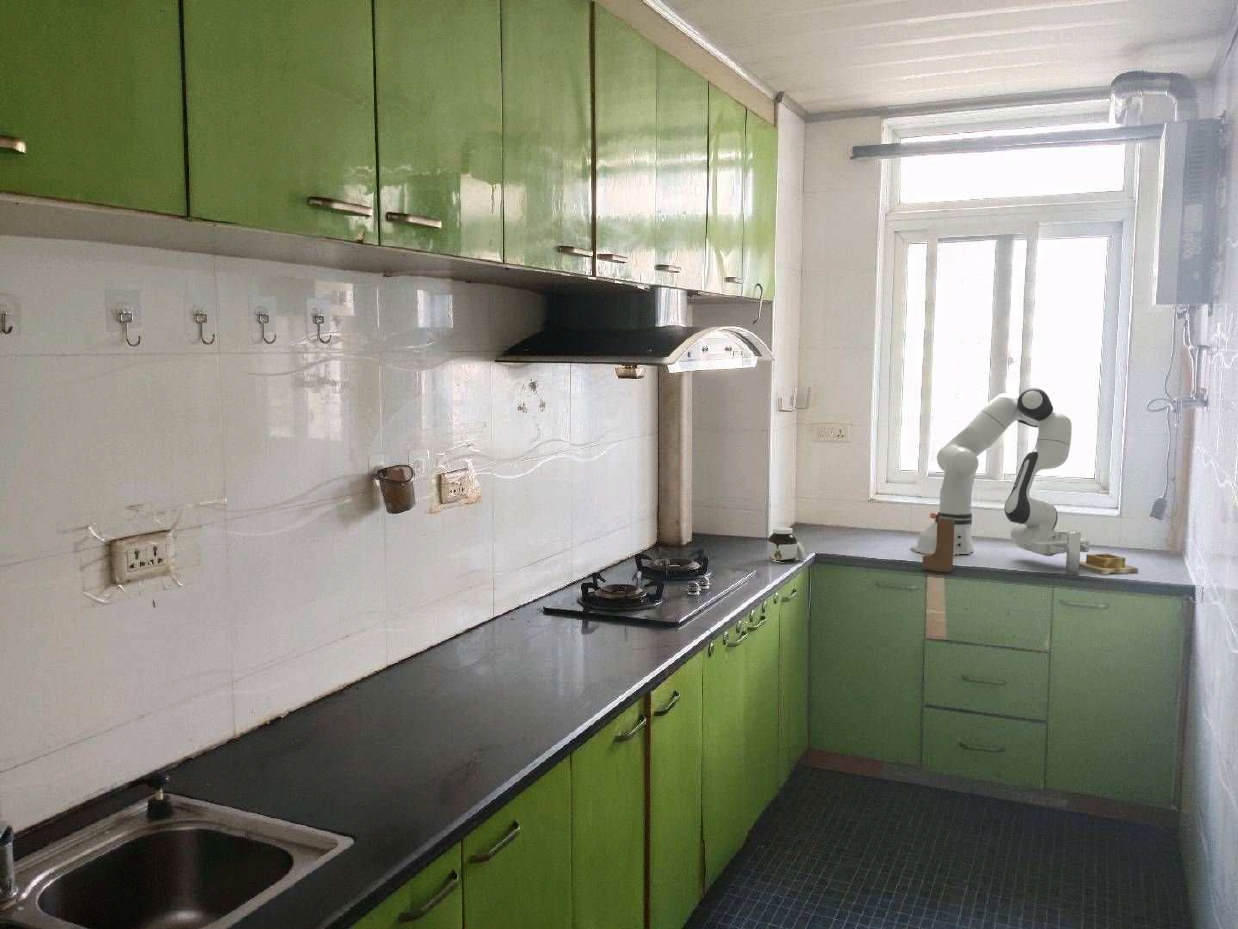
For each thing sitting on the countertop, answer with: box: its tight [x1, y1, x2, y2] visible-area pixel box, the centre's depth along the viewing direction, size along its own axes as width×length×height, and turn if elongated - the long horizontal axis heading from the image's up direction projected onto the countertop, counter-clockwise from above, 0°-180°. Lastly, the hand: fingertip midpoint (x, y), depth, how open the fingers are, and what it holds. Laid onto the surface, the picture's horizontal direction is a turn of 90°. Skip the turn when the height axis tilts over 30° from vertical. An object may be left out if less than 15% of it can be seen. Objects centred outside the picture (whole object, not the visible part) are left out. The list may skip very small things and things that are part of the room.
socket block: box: [1079, 552, 1139, 575], centre depth 337 cm, size 14×14×4 cm
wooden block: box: [921, 517, 955, 573], centre depth 334 cm, size 9×4×18 cm, turn 52°
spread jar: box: [767, 526, 807, 563], centre depth 349 cm, size 12×11×12 cm
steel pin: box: [1065, 530, 1082, 576], centre depth 329 cm, size 4×4×14 cm
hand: (1074, 550), depth 328 cm, fingers open, 8 cm apart
